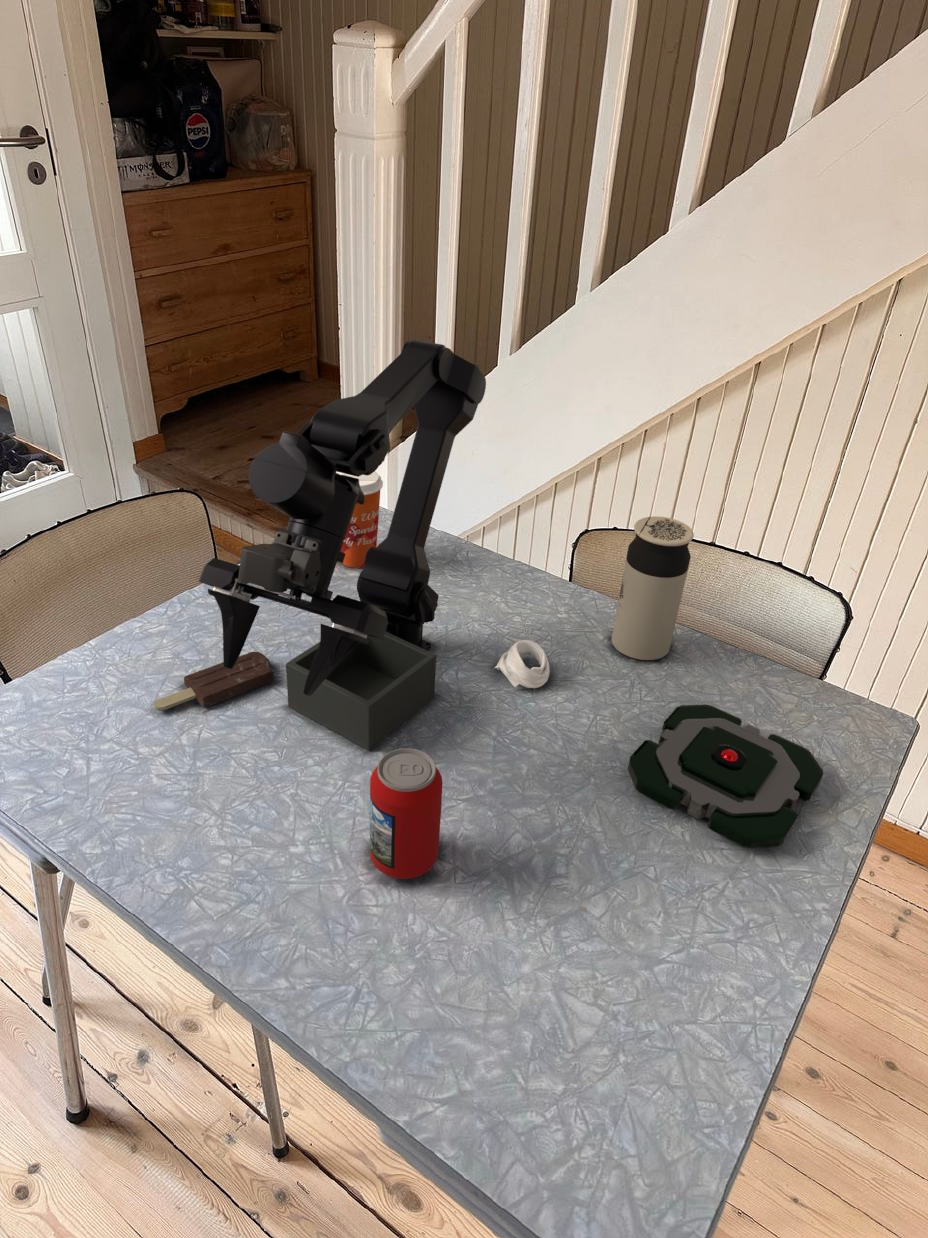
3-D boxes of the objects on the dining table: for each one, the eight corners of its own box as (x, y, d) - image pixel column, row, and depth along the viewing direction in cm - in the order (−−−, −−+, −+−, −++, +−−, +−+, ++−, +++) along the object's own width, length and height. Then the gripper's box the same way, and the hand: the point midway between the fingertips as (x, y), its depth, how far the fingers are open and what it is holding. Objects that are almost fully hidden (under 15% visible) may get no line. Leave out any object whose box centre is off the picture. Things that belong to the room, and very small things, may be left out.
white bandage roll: (522, 657, 117) (524, 625, 115) (563, 674, 113) (566, 642, 111) (484, 679, 112) (486, 645, 109) (526, 698, 108) (529, 664, 106)
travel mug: (677, 642, 121) (704, 526, 111) (656, 669, 115) (682, 550, 105) (625, 622, 124) (646, 509, 114) (601, 648, 118) (622, 531, 109)
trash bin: (357, 659, 113) (356, 617, 109) (434, 697, 107) (436, 654, 104) (288, 707, 104) (285, 663, 101) (368, 751, 98) (368, 706, 95)
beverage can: (370, 832, 88) (370, 743, 82) (436, 831, 89) (441, 742, 82) (369, 885, 83) (369, 795, 76) (440, 883, 83) (446, 793, 77)
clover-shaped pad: (613, 788, 96) (619, 757, 93) (683, 710, 108) (690, 680, 106) (769, 871, 87) (781, 839, 85) (825, 776, 100) (837, 746, 97)
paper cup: (343, 575, 131) (341, 490, 123) (325, 552, 136) (322, 469, 128) (390, 565, 134) (392, 482, 126) (371, 543, 139) (371, 462, 132)
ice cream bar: (164, 724, 100) (280, 679, 109) (162, 713, 99) (279, 668, 108) (146, 701, 103) (259, 658, 112) (144, 690, 103) (258, 648, 111)
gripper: (193, 486, 82) (139, 644, 80) (368, 533, 76) (312, 704, 75) (253, 518, 92) (205, 658, 91) (410, 561, 86) (361, 711, 85)
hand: (266, 681), depth 85 cm, fingers open, 9 cm apart
